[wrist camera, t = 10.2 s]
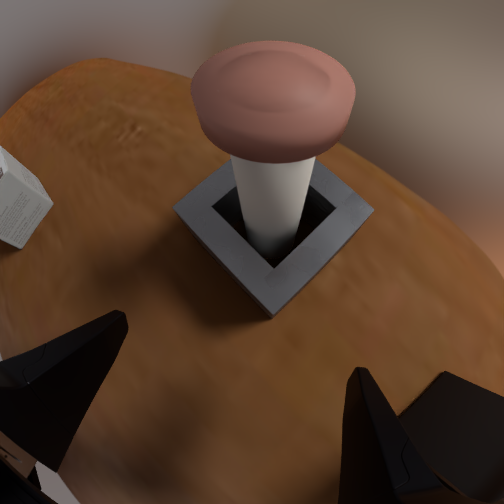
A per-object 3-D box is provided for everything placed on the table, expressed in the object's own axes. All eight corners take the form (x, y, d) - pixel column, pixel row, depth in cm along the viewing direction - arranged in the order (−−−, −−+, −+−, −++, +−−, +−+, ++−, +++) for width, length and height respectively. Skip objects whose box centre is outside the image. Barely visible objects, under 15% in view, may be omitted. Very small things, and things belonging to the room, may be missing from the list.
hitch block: (352, 236, 19) (374, 209, 14) (271, 319, 17) (273, 315, 13) (272, 166, 20) (273, 127, 16) (192, 234, 19) (172, 207, 15)
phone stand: (386, 426, 15) (493, 496, 3) (443, 370, 15) (568, 377, 4) (428, 484, 12) (507, 542, 1) (477, 434, 13) (570, 461, 1)
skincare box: (8, 218, 21) (-34, 192, 14) (38, 177, 23) (-2, 142, 15) (22, 251, 20) (-29, 226, 13) (55, 204, 21) (7, 167, 14)
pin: (315, 253, 18) (387, 112, 6) (252, 280, 18) (219, 159, 6) (287, 197, 20) (304, 33, 7) (228, 220, 19) (176, 62, 7)
